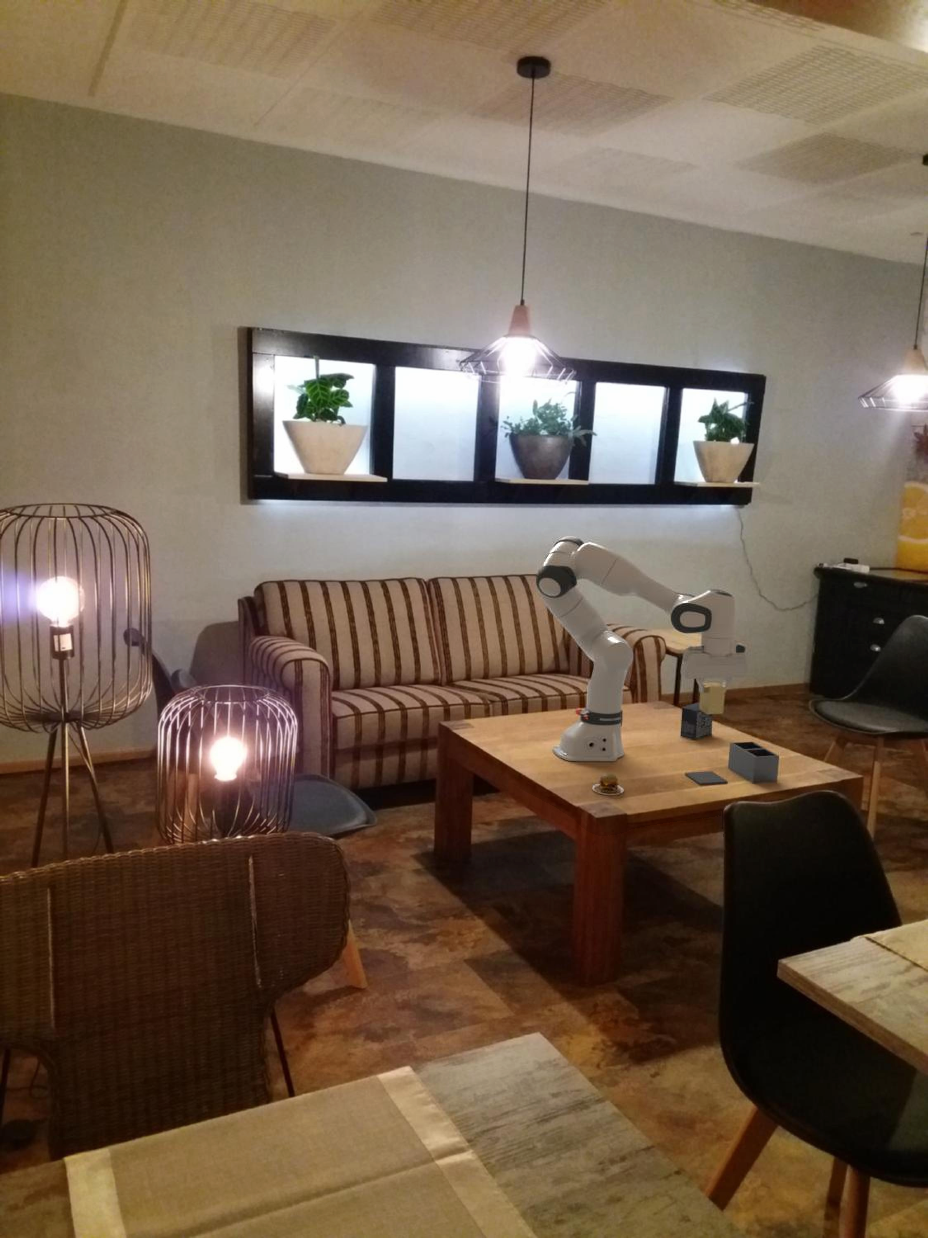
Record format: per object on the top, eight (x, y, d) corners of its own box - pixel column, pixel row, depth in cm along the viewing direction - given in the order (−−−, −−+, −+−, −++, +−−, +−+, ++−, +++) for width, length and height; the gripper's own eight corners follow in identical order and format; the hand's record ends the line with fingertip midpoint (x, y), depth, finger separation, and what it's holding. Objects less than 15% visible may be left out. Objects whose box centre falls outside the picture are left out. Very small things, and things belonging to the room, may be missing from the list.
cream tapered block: (707, 714, 274) (710, 687, 273) (698, 709, 279) (701, 682, 278) (722, 713, 276) (725, 687, 274) (714, 708, 280) (716, 682, 279)
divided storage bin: (752, 783, 278) (755, 757, 277) (727, 767, 292) (730, 742, 290) (776, 781, 280) (779, 755, 279) (751, 766, 294) (753, 741, 292)
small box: (695, 730, 331) (698, 701, 329) (712, 735, 326) (714, 705, 324) (679, 736, 323) (681, 706, 321) (695, 740, 319) (697, 710, 317)
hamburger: (599, 782, 277) (600, 764, 276) (636, 791, 270) (637, 773, 269) (578, 793, 268) (579, 774, 267) (616, 803, 261) (617, 784, 260)
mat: (699, 785, 275) (699, 783, 275) (684, 774, 284) (685, 773, 284) (727, 783, 278) (727, 781, 278) (711, 773, 286) (711, 771, 286)
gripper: (689, 648, 268) (685, 696, 271) (753, 647, 274) (749, 693, 276) (678, 644, 274) (675, 690, 277) (741, 642, 279) (737, 688, 282)
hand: (712, 692), depth 276 cm, fingers closed on cream tapered block, 5 cm apart
